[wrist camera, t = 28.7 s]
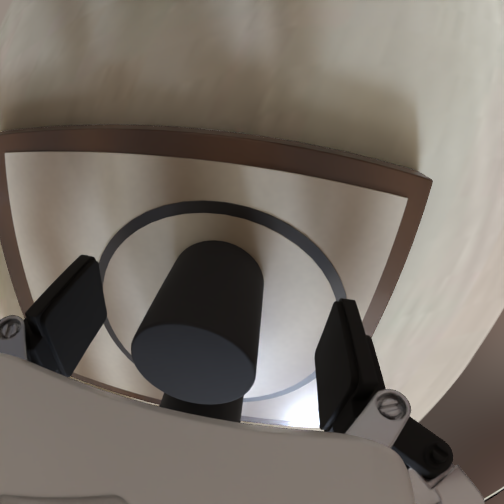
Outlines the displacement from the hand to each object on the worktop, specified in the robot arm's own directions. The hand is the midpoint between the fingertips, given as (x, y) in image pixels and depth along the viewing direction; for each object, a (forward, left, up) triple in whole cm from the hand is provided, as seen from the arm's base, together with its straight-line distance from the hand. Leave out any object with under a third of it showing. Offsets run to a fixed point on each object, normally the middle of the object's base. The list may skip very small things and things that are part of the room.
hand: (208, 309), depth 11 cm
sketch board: (-3, -3, -4) cm, 6 cm away
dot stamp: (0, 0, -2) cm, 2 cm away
